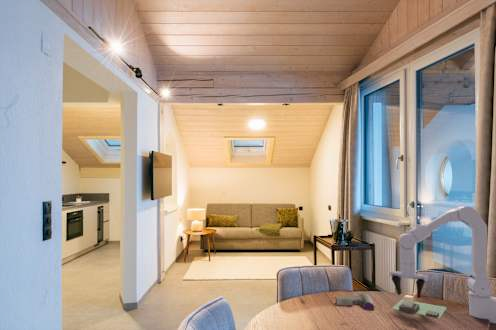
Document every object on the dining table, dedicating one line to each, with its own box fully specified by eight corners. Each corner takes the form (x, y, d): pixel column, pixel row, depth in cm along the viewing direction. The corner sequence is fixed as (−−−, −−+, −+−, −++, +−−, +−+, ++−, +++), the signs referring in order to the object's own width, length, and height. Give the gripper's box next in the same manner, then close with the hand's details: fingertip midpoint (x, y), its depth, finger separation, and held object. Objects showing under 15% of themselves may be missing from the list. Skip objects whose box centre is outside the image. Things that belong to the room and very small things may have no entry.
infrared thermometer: (336, 304, 156) (370, 303, 154) (339, 313, 144) (376, 312, 142) (335, 294, 156) (369, 293, 154) (338, 302, 144) (375, 301, 142)
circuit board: (447, 309, 145) (446, 305, 145) (440, 320, 132) (439, 315, 133) (402, 301, 156) (401, 297, 156) (391, 310, 144) (391, 306, 144)
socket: (419, 308, 144) (419, 304, 144) (415, 312, 138) (414, 309, 138) (404, 305, 148) (403, 301, 148) (399, 309, 142) (399, 306, 142)
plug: (414, 308, 144) (413, 295, 144) (411, 311, 140) (411, 298, 141) (406, 306, 146) (406, 294, 146) (403, 309, 142) (403, 296, 143)
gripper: (386, 262, 146) (388, 295, 145) (424, 266, 137) (426, 301, 136) (391, 259, 152) (393, 291, 150) (427, 263, 142) (429, 297, 141)
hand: (409, 295), depth 143 cm, fingers open, 7 cm apart
